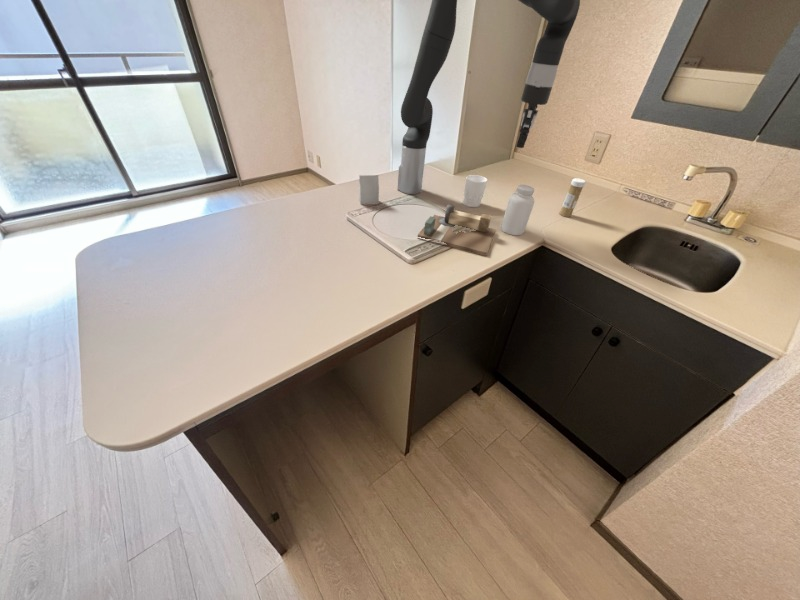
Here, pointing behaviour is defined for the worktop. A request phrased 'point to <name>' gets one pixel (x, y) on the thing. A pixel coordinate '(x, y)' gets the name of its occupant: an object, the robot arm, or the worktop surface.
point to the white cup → (474, 190)
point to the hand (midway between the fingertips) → (521, 144)
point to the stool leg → (467, 219)
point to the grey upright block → (368, 189)
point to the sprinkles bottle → (572, 197)
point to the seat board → (457, 236)
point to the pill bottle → (518, 210)
